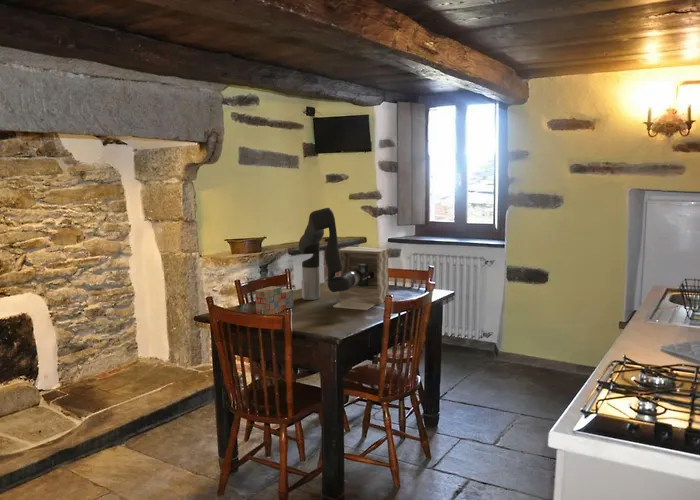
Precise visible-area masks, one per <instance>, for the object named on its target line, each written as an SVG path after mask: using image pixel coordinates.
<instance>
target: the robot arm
mask: <svg viewBox="0 0 700 500" xmlns="http://www.w3.org/2000/svg"><path fill="white" fill-rule="evenodd" d="M307 223H308V224H307V225H306V227H305V230H304V233H303V234H302V236H300V238H299V241H298V250H299V252H300V254H303V255H312V256H311V257H309V258H307V259H305V260H303V261H302V262H301V263H302V264H301V271H302V273H301V274H302V280H301V298H302V300H306V301H307V300H308V301H314V300H315V301H316V300H319V299H321V285H320V284H321V283H320V282H321V281H320V280H321V277H320V276H321V275H320V272H321V271H320V250H321V244H320V243H321V241H322V239H323V237H324V234H325V230H326V229H328V232H329V233H328V235H329V236H328V240H327V244H326V248H325V251H324V259H325V263H326V268H327V287H328V290H329V291H330V292H331V293H337V292H339V291H346V290H348V289H350V287H351V286H354V285H357V284H359V283H360V282H361V281H362V279H367V278H368V279H371V278H374V273H373V272H372V271H371V272H360V271H359V270H357V269H354V270H351V271H348V272H346V273H345V274H343V275H341V276H339V275H338V276H336V273H339V271H341V270H342V268H343V267H342V262H341V258H340V254H339V243H338V232H337V225H336V224H337V223H336V218H335V215H334V212H333V210H332V208H330V207H325V208H321V209H316V210H314V211H311V212H310V214H309V216H308V222H307ZM364 273H365V274H364ZM367 274H368V275H367Z"/></svg>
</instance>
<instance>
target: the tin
mask: <svg viewBox="0 0 700 500" xmlns="http://www.w3.org/2000/svg"><path fill="white" fill-rule="evenodd" d="M358 270H359V271H360V272H368V263H366V262H361V263H358ZM364 274H365V273H364ZM367 275H368V274H367ZM359 286H360V287H367V286H368V278H367V279H362V281H361V282H360V283H359Z"/></svg>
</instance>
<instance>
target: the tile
mask: <svg viewBox="0 0 700 500" xmlns="http://www.w3.org/2000/svg"><path fill="white" fill-rule="evenodd" d="M332 306H333V308H337V309H339V308H340V309H351V310H363V311H368V310H369V309H371V308H372V307H374V306H375V304H372V303H359V302H346V301H341V302H340V301H339V302H337V303H336V304H334V305H332Z"/></svg>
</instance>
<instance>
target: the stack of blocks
mask: <svg viewBox="0 0 700 500" xmlns="http://www.w3.org/2000/svg"><path fill="white" fill-rule="evenodd" d="M254 294H255V298H254V299H255V314H256V313H257V314H274V315H276V314H275V313H277V314H279V313H281V311H282V310H284V309H285V308H291V309H293V308H294V306H295V304H294V290H293V289H287V288H282V286H275V285H271V286H267V287H264V288H259V289H256V290H254ZM278 312H279V313H278ZM282 312H283V311H282Z"/></svg>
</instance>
